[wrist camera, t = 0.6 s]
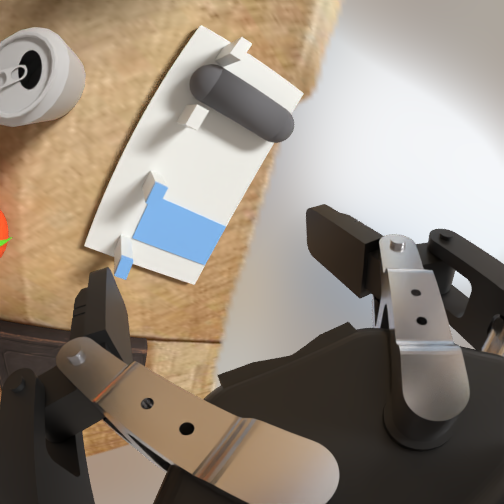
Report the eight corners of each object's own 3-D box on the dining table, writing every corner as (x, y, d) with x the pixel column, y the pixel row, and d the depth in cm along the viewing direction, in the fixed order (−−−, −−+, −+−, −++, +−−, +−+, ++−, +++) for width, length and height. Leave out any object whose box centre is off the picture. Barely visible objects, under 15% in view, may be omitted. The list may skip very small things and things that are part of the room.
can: (90, 110, 25) (70, 109, 16) (24, 130, 23) (-24, 143, 13) (84, 42, 22) (64, 7, 12) (18, 63, 20) (-31, 45, 10)
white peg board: (198, 27, 26) (216, 9, 20) (298, 93, 33) (332, 93, 27) (85, 241, 31) (78, 270, 25) (192, 279, 38) (206, 311, 33)
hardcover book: (136, 406, 45) (138, 416, 43) (7, 392, 34) (6, 402, 32) (145, 335, 40) (148, 346, 38) (-11, 315, 29) (-15, 325, 27)
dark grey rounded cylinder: (178, 92, 27) (185, 89, 24) (199, 60, 26) (209, 53, 23) (271, 146, 34) (288, 152, 30) (289, 117, 33) (307, 119, 29)
